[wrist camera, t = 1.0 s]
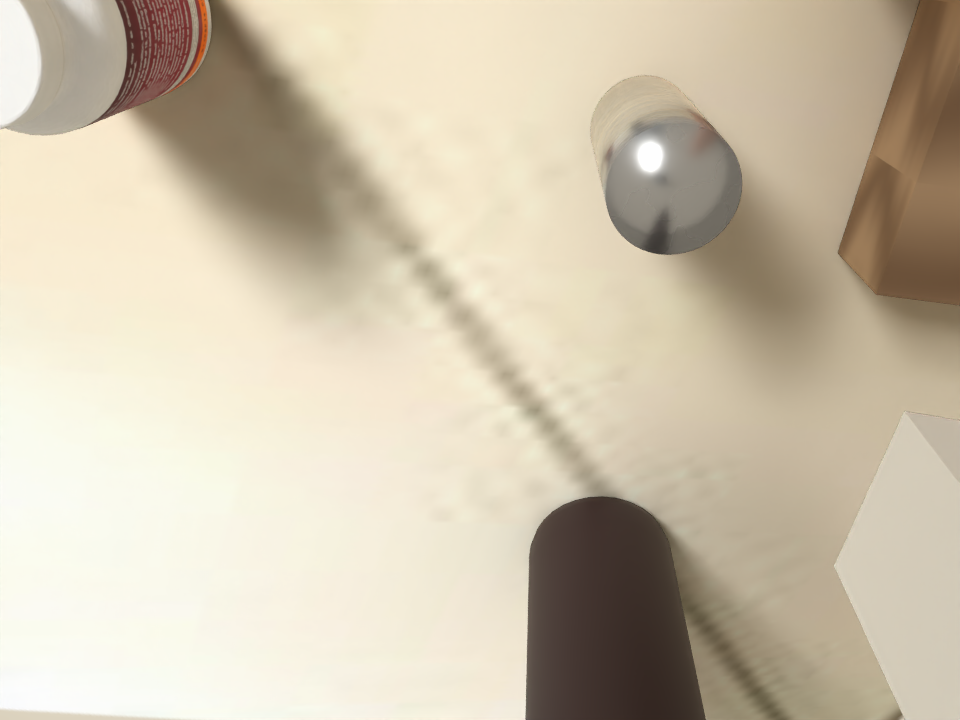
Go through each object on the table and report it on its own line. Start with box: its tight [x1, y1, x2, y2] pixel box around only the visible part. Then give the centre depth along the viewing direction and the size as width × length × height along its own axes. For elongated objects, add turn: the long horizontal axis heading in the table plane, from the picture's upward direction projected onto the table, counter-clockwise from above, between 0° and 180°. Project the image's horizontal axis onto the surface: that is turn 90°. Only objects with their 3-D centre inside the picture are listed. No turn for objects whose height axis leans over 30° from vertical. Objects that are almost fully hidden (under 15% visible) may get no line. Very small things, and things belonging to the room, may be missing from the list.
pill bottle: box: [0, 0, 212, 135], centre depth 27 cm, size 6×6×11 cm
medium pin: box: [591, 75, 742, 255], centre depth 29 cm, size 4×4×9 cm
